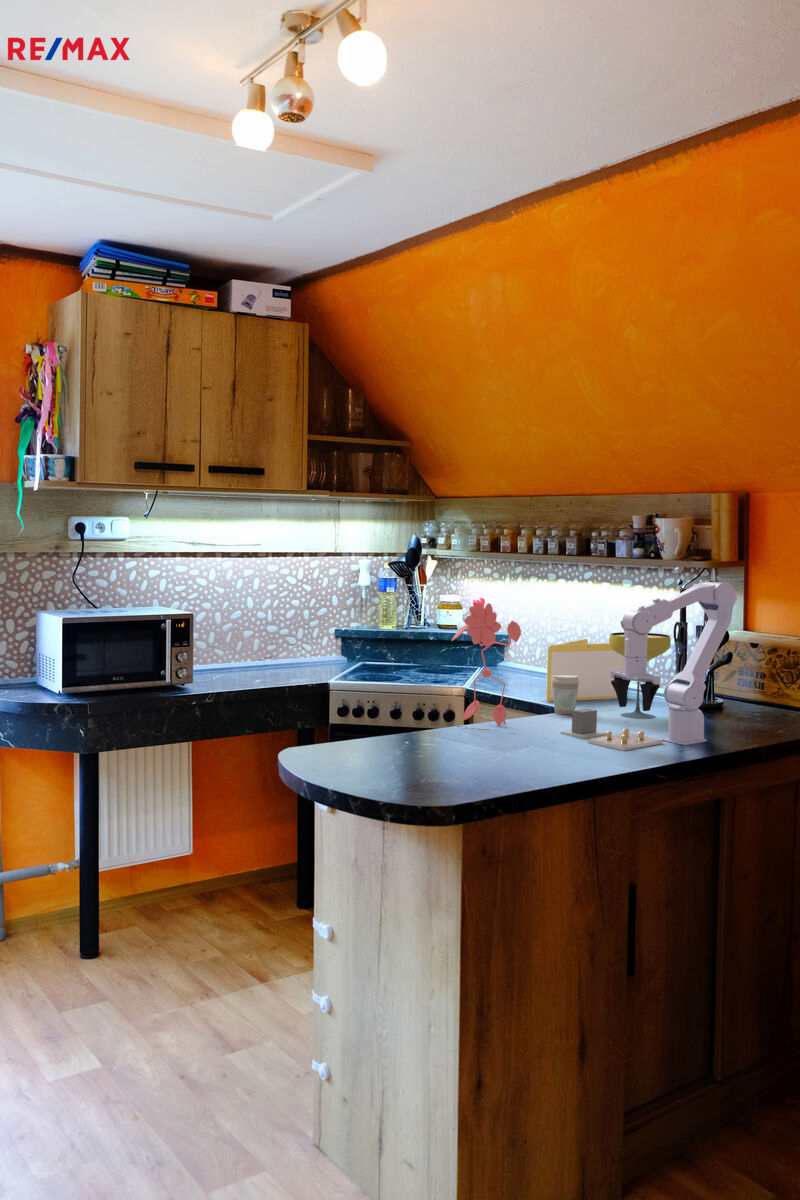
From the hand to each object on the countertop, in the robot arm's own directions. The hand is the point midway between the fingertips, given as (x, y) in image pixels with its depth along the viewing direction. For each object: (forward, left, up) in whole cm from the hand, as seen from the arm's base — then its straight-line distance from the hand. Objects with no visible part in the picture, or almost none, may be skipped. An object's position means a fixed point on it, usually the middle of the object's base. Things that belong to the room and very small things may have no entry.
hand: (634, 708), depth 260 cm
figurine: (+15, -43, -10) cm, 47 cm away
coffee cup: (-19, -41, -10) cm, 46 cm away
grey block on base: (+1, -16, -10) cm, 19 cm away
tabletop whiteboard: (-49, -57, -10) cm, 76 cm away
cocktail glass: (-35, -26, -10) cm, 45 cm away
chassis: (+1, -2, -9) cm, 10 cm away
